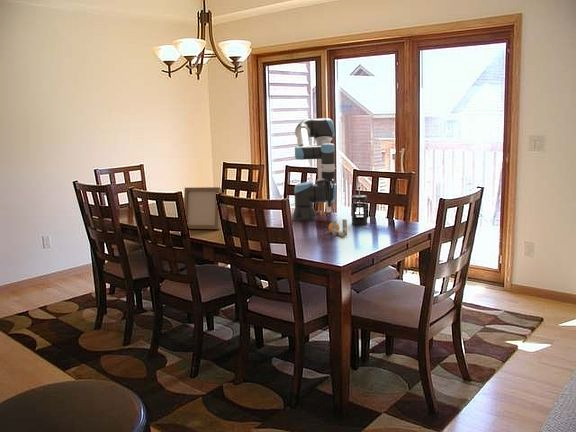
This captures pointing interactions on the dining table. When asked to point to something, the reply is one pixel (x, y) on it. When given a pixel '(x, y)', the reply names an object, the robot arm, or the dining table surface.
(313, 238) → the dining table surface
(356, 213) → the french press
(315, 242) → the dining table surface
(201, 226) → the photo frame
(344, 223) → the pin
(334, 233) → the pin
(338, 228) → the ball
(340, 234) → the pin front
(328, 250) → the dining table surface
